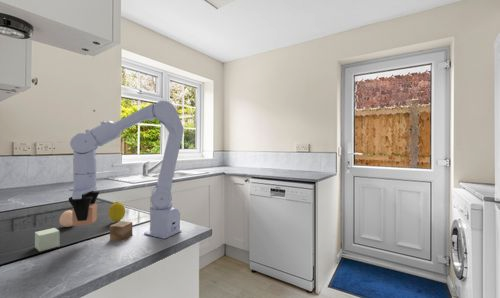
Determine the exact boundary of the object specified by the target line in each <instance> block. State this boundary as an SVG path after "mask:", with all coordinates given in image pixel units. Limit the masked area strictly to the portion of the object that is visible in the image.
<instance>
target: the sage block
mask: <svg viewBox="0 0 500 298" xmlns="http://www.w3.org/2000/svg"><path fill="white" fill-rule="evenodd" d="M60 244H61V242H60V230H59V229H57V228H56V227H52V228H48V229H47V228H46V229H43V230H39V231H35V232H34V249H36V250H37V251H38V252H42V251H47V250H50V249H55V248H56V247H60Z"/></svg>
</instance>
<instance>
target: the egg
mask: <svg viewBox="0 0 500 298" xmlns="http://www.w3.org/2000/svg"><path fill="white" fill-rule="evenodd" d="M59 224H60V226H62V227H65V228H70V227H73V224H72V210H71V209H69V210H65V211H64V212H63V213H61V215H60V217H59Z"/></svg>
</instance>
